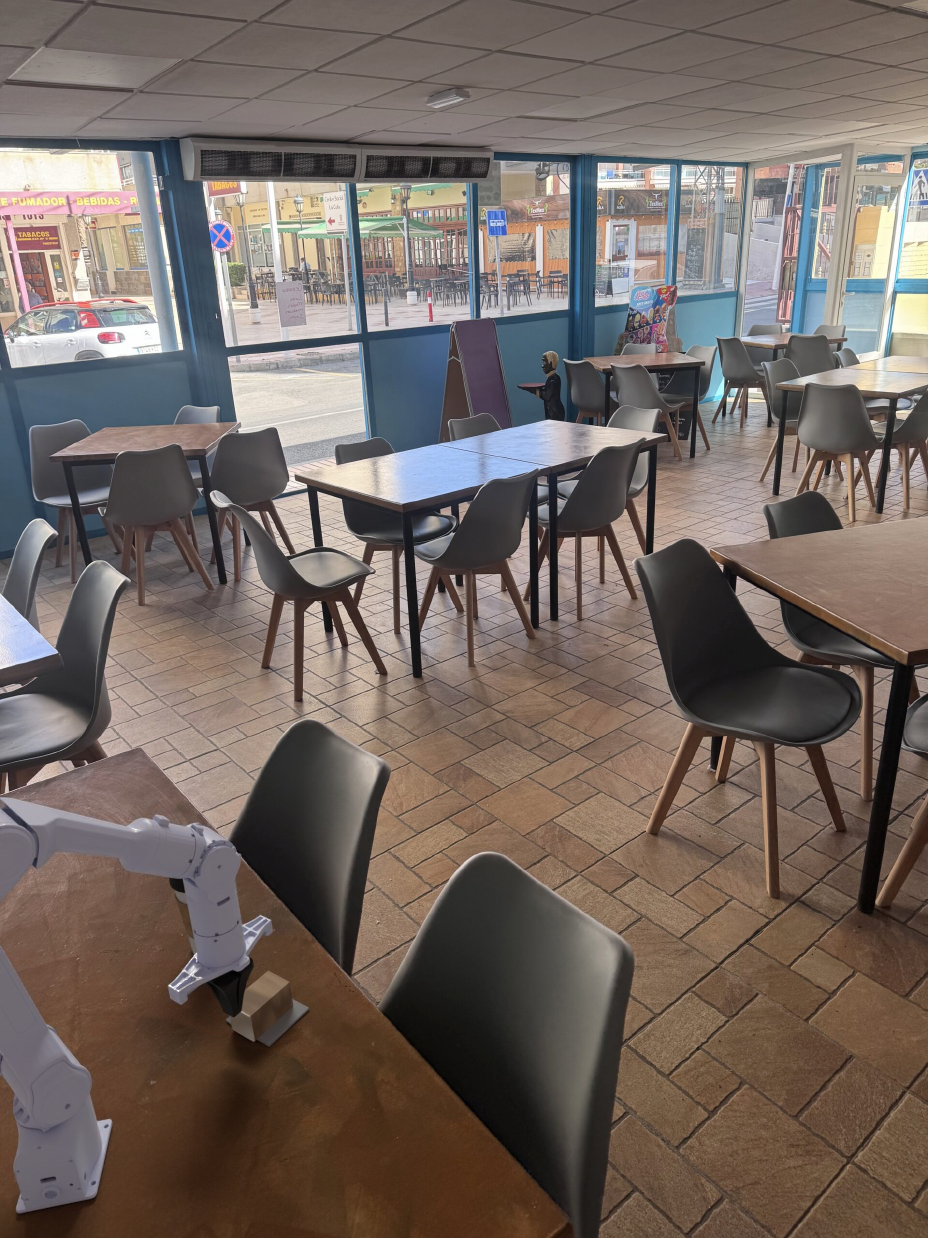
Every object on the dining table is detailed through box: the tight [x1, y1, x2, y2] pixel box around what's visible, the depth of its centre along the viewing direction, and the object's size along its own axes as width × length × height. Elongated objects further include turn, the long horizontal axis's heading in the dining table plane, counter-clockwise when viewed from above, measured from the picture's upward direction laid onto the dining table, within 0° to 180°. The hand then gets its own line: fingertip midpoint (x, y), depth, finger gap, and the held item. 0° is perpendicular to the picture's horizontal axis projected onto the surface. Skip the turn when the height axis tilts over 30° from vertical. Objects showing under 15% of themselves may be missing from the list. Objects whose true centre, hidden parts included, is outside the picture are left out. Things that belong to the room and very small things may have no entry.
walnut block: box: [229, 970, 293, 1043], centre depth 113 cm, size 4×4×7 cm
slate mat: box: [225, 998, 310, 1048], centre depth 115 cm, size 7×8×1 cm
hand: (232, 1011), depth 109 cm, fingers closed
